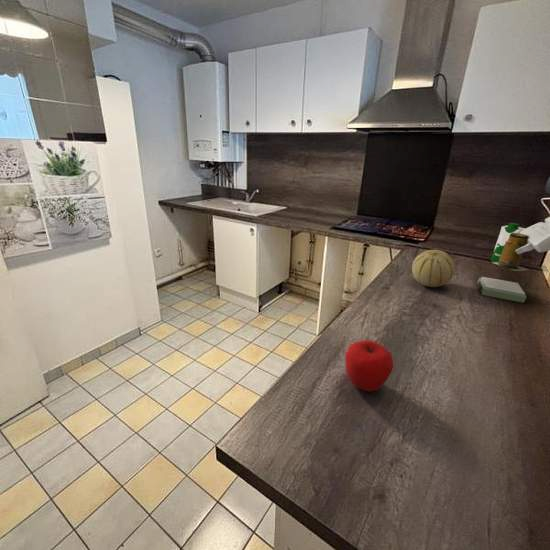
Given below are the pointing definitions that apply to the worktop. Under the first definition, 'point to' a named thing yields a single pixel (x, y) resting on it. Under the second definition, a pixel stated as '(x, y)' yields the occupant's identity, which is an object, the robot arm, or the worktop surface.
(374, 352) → the apple
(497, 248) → the milk carton
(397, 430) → the worktop surface
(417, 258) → the cantaloupe
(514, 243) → the condiment
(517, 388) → the worktop surface
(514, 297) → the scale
